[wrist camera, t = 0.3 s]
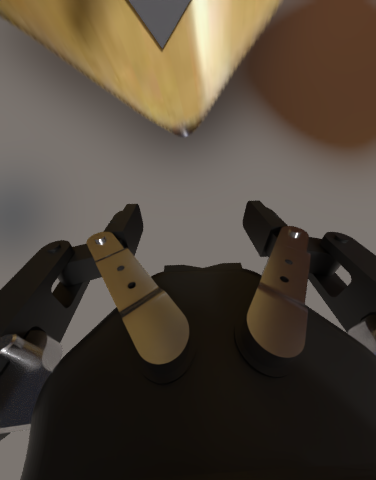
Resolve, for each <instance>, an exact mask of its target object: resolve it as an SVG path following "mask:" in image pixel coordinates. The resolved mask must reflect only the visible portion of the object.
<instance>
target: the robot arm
mask: <svg viewBox="0 0 376 480" xmlns="http://www.w3.org/2000/svg"><path fill="white" fill-rule="evenodd" d="M243 227H244V229H245V231H246V233H247V234H248V236H249V238H250V240H251V241H252V243H253V245H254V247H255V248H256V250H257V252H258V253H259V255H260V257H266V256H268V257H269V259H268V261H267V264H266V266H265V268H264V271H263V273H262V275H260V274H258V273H256V272H253V271H251V270H247V269H243V268H242V266H241V263H222V264H218V265H214V266H210V267H206V268H200V267H193V266H186V265H167V266H165V267H164V272H160V273H157V274H156V275H153V276H151V277H150V276H149V274H148V273H147V272H146V271H145V269H144V268H143V267H142V266H141V264H140V263H139V262H138V260H137V259H136V258H135V257H134V256H135V253H136V250H137V247H138V244H139V241H140V238H141V235H142V232H143V221H142V217H141V212H140V208H139V205H138V204H127V205H126V207H125V208H124V210H123V211H120V212H118V213H117V214H115V215H114V217H113V219H112V220H111V221H110V223H109V224H108V226H107V227H106V229H105V230H104V232H100V233H97V234H94V235H93V236H91V237H90V238H89V239H88V240H87V244H83V245H79V246H75V247H72V246H71V244H70V243H69V242H68V241H64V240H63V241H62V240H61V241H55V242H52V243H50V244H48V245H46V246H44V247H43V248H41V249H40V250H39V251H38V252H37V253H36V254H35V255H34V256H33V257H32V258H31V259H30V260H29V261H28V262H27V263H26V265H24V267H23V268H22V269H21V270H20V271H19V272H18V273H17V274H16V275H15V276H14V277H13V278H12V279H11V280H10V281H9V282H8V283H7V284H6V285H5V286H4V287H3V288H2V289H1V290H0V440H2V439H3V438H5V437H6V436H7V435H8V434H10V433H11V432H15V431H21V430H29V429H30V436H29V444H28V450H27V455H26V460H25V464H24V468H23V472H22V476H21V479H20V480H376V255H374V254H373V253H372V252H370V251H369V250H368V249H366V248H365V247H363V246H362V245H361V244H359V243H358V242H357V241H356V240H354V239H353V238H351V237H349V236H347V235H345V234H342V233H337V232H327V233H326V234H325V235H324V237H323V238H322V239H319V238H312V237H309V235H308V233H307V232H306V231H304V230H303V229H301V228H298V227H294V226H287V224H286V223H284V221H282V219H281V218H279V217H278V215H276V213H275V212H273V211H272V210H271V209H269V208H267V207H265V206H264V205H263V204H262V203H261V202H260V201H248V203H247V205H246V209H245V213H244V217H243ZM340 265H342V266H343V267H344V268H345V269H346V270H347V271H348V272H349V273H350V275H351V279H352V280H351V283H350V284H349V285H348V286H347V285H346V284H345V283H344V282H343V281H342V280H341V279H340V277H339V276H338V275H337V274H336V273H335V272H336V270H337V269H338V268H339V267H340ZM100 277H102V278H103V279H104V282H105V283H106V286H107V288H108V290H109V292H110V294H111V296H112V298H113V300H114V302H115V304H116V306H117V307H116V308H115V309H114V310H113V311H112V312H111V313H110V314H109V315H108V316H107V317H106V318H104V319H103V320H102V321H101V322H100V323H99V324H98V325H97V326H96V327H95V328H94V329H93V330H92V331H91V332H90V333H89V334H87V335H86V336H85V337H84V338H83V339H82V340H81V341H80V342H79V343H78V344H77V345H76V346H75V347H74V348H72V349H71V350H70V351H69V352H68V353H67V354H66V355H65V356H64V357H63V358H62V359H61V356H62V346H61V344H60V342H61V340H62V338H63V336H64V333H65V332H66V329H67V327H68V325H69V323H70V321H71V319H72V317H73V315H74V313H75V311H76V309H77V307H78V305H79V303H80V300H81V298H82V296H83V294H84V292H85V290H86V288H87V286H88V284H89V282H90V280H93V279H96V278H100ZM57 278H58V279H59V280H60V282H59V284H58V285H57V287H56V288H55V290H54V291H53V293H52V292H51V287H52V285H53V283H54V282H55V280H56V279H57ZM308 279H309V280H310V282H311V283H312V285H313V286H314V287H315V288H316V290H317V291H318V293H319V294H320V296H321V297H322V298H323V300H324V301H325V303H326V304H327V305H328V307H329V308H330V309H331V311H332V312H333V314H334V315H335V316H336V318H337V319H338V320H339V322H340V323H341V325H342V326H343V327H344V329H345V330H346V332H347V333H348V334H347V333H346V332H344V331H343V330H341V329H340V328H339V327H337V326H336V325H334V324H333V323H331V322H330V321H328V320H327V319H325V318H324V317H322V316H321V315H319V314H318V313H316V312H315V311H314V310H312V309H311V308H309V307H308V306H306V305H305V298H306V291H307V282H308ZM60 359H61V360H60Z"/></svg>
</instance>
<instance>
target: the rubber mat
mask: <svg viewBox="0 0 376 480" xmlns="http://www.w3.org/2000/svg"><path fill="white" fill-rule="evenodd" d="M189 1H190V0H129V2H130V3H131V4H132V6H133V7H134V9H135V10H136V12H137V13H138V14H139V16H140V17H141V19H142V20H143V22H144V23H145V24H146V26H147V27H148V29H149V30H150V32H151V33H152V34H153V36H154V37H155V39H156V40H157V42H158V43H159V45H160V46H161V47H162V48H163V47H164V45H165V43H166V41H167V40H168V38H169V36H170V34H171V33H172V31H173V29H174V27H175V26H176V24H177V22H178V21H179V19H180V17H181V15H182V14H183V12H184V10H185V8H186V7H187V5H188V3H189Z"/></svg>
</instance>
